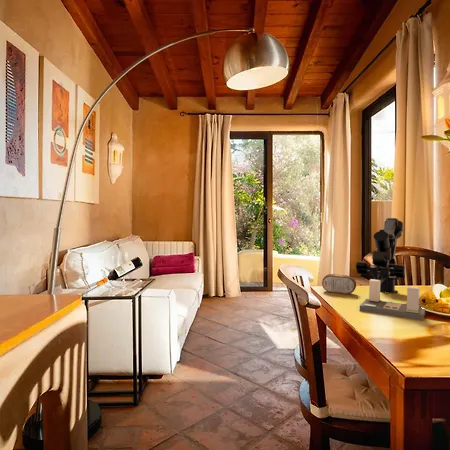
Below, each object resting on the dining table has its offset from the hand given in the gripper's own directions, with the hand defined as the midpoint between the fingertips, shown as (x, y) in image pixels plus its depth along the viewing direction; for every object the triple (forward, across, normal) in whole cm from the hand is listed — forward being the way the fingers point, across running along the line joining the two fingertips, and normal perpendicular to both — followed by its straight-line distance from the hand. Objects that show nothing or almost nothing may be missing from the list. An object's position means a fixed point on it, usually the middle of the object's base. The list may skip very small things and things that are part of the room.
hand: (377, 286), depth 142 cm
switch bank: (+11, +7, 0) cm, 13 cm away
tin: (-2, -18, +13) cm, 23 cm away
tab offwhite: (+7, 0, 0) cm, 7 cm away
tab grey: (+11, +14, -4) cm, 18 cm away
